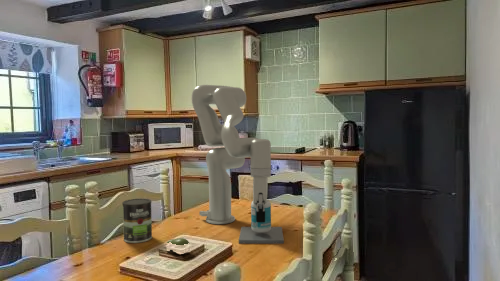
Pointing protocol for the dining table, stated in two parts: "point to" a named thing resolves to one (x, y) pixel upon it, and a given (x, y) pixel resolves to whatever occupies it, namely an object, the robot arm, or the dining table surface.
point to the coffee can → (137, 220)
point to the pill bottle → (261, 226)
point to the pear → (178, 241)
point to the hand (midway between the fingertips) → (260, 218)
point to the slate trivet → (261, 236)
